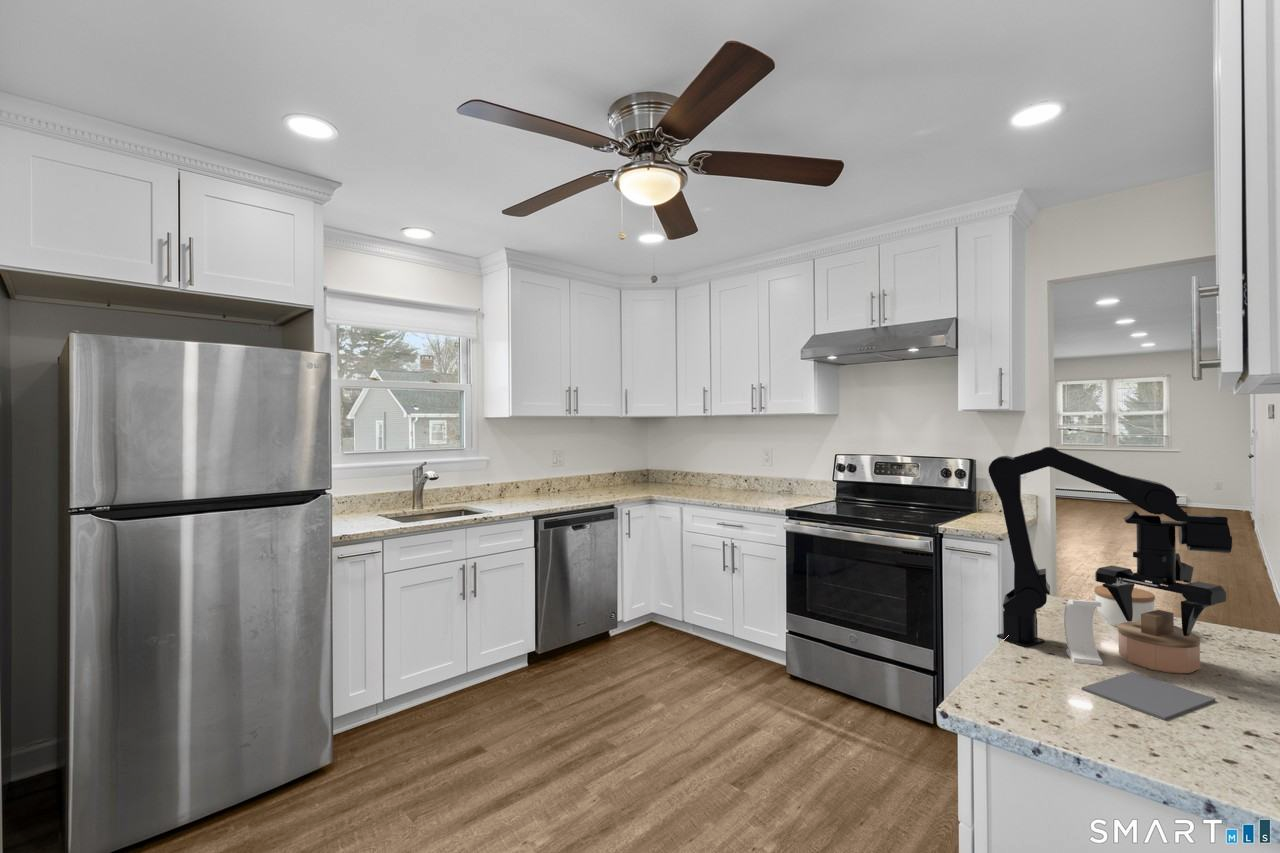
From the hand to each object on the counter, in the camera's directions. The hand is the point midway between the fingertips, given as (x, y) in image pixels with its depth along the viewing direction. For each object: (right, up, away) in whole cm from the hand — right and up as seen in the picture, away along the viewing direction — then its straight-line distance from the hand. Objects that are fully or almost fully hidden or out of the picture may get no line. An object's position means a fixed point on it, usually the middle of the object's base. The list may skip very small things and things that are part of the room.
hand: (1156, 628), depth 115 cm
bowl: (0, -7, 0) cm, 7 cm away
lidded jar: (+11, -7, +21) cm, 24 cm away
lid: (0, -2, 0) cm, 2 cm away
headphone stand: (-12, -7, +3) cm, 14 cm away
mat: (-14, -7, -14) cm, 20 cm away
